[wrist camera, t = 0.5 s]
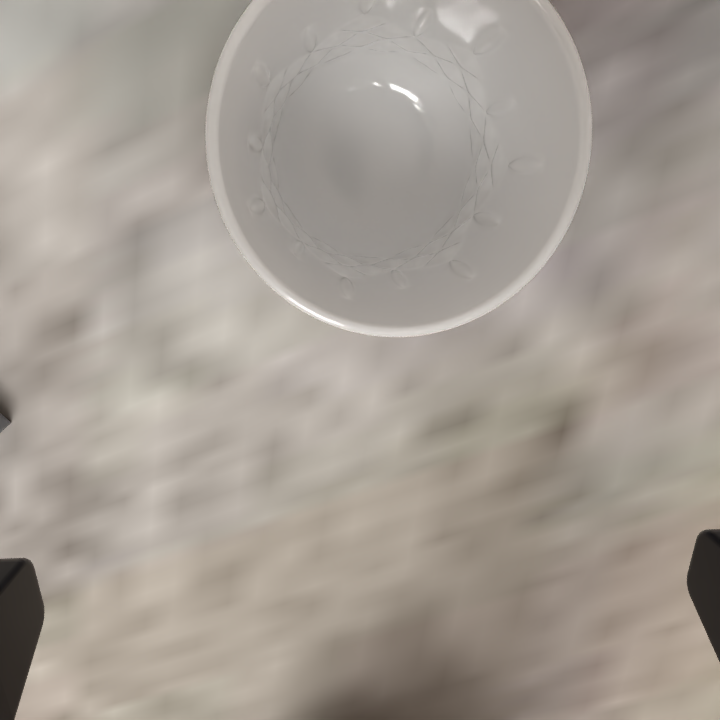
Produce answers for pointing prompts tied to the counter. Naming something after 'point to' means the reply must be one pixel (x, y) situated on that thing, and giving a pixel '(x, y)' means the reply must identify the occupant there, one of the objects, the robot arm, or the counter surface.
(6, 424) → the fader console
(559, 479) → the counter surface
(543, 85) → the white cup
